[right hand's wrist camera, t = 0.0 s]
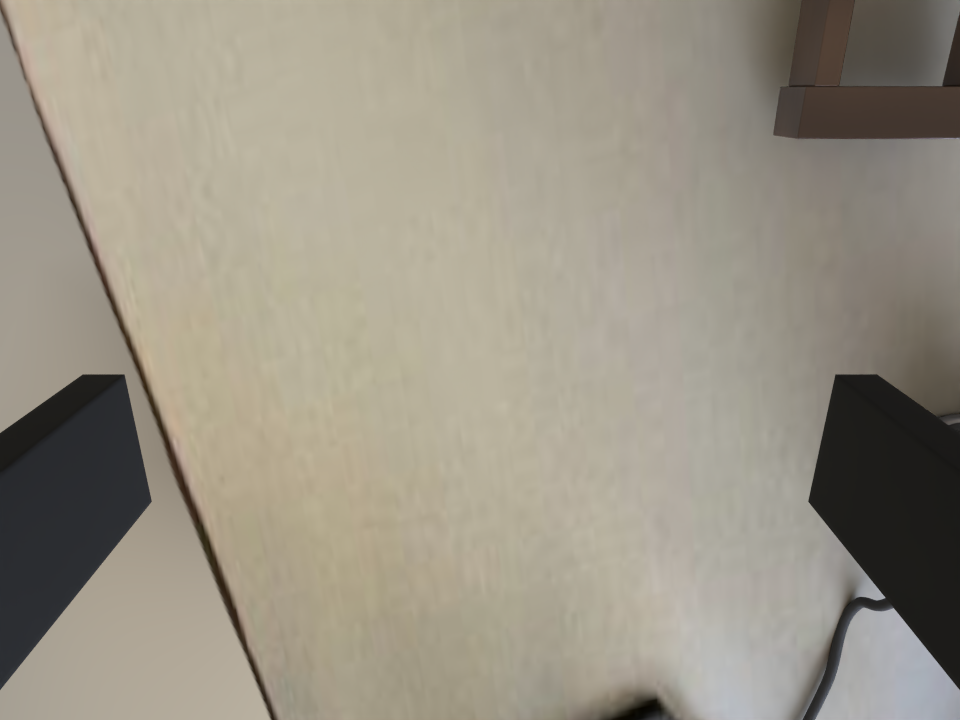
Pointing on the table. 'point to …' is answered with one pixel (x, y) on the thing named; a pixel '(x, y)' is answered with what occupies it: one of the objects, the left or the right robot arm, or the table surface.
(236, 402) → the table surface
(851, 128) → the walnut tray
